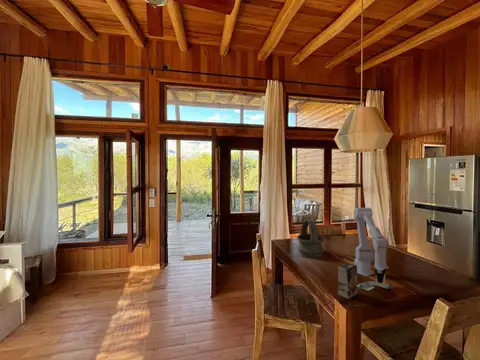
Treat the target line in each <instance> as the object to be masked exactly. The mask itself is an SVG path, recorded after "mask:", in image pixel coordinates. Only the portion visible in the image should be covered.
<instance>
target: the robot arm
mask: <svg viewBox="0 0 480 360" xmlns="http://www.w3.org/2000/svg"><path fill="white" fill-rule="evenodd" d="M353 217H354V220H355V221H356V226H357V235H358V243H359V245H358V246H357V247H355V253H354V255H355V259H354V261H353V262H354V263H353V265H357V275H358V274H359V275H361V276H363V277H369V276H371V275H374V274H375V277H376V276H377V280H378V283H382V282H383V277H384V275H385V276H386V273H387V272H386V271H387V269H389V266H388V265H387V248H388V247H389V241H388V239H387V237H385V236H384V235H383V234H382V231H381V230H380V228H379V227H378V226H376V223H375V222H374V219H373V209H372V208H371V207H355V208H354V209H353ZM366 224H367V226H368V228H369V230H368V233H369V234H370V236H371V239H372V246H373V249H372V247H371V246H369V245H368V238H367V237H368V236H367V230H366V229H367V228H366ZM373 250H374V251H373ZM372 260H374V267H375V269H374V272H372V271H371V262H372Z"/></svg>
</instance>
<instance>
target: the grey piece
mask: <svg viewBox="0 0 480 360" xmlns="http://www.w3.org/2000/svg"><path fill="white" fill-rule="evenodd" d="M362 283H363V284H362ZM362 283H360V282H359V283H358V285H359V287H358V289H359V290H360V291H362V290H364V289H363V288H364V287H367V286H372V287H380V288H383V289H389V290H390V291H394V284H393V283H386V282H385V287H383V286H378V285H376V280H375V281H374V280H373V281H372V280H370V281H365V282H362Z"/></svg>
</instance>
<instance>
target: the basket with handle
mask: <svg viewBox="0 0 480 360" xmlns="http://www.w3.org/2000/svg"><path fill="white" fill-rule="evenodd" d="M308 227H309V232H310V233H308ZM299 230H300V232H299V234H298V235H297V236H296V239H297V241H299V243H298V245H297V250H298V255H299V254H300V255H302V256H301V257H303V256H304V257H303V258H307V257H309V258H310V259H317V258H321V257H322V256H323V251H324V248H323V245H322V242H324V241H325V238H324V237H323V236H321V235H319V232H318V228H317V223H316V221H315V219H313V218H310V219H308V218H305V219H304V221H303V223H302V224H301V227H300V229H299ZM300 255H299V256H300ZM309 258H308V259H309Z"/></svg>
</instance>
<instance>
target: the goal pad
mask: <svg viewBox="0 0 480 360" xmlns="http://www.w3.org/2000/svg"><path fill="white" fill-rule="evenodd" d="M363 283H364V282H362V283H361V284H363ZM375 287H376V286H367V287H364V288H363V290H365V291H367V292H368V291H371V290H372V289H375ZM357 288H359V284H357Z"/></svg>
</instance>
